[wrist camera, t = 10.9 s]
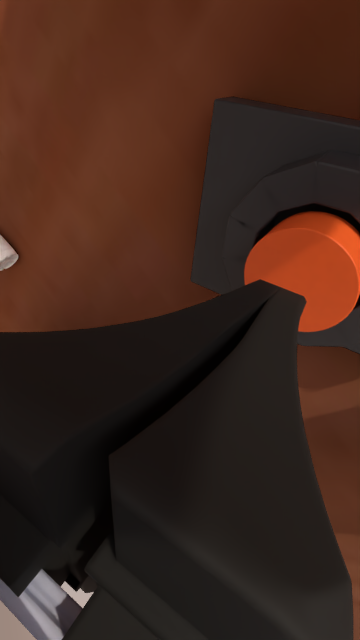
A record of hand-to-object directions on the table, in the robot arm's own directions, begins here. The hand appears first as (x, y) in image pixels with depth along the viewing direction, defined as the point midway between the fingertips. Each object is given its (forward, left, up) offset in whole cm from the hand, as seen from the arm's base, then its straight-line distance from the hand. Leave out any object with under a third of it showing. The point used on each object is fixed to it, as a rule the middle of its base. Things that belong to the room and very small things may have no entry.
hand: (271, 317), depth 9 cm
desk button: (0, 0, -4) cm, 4 cm away
